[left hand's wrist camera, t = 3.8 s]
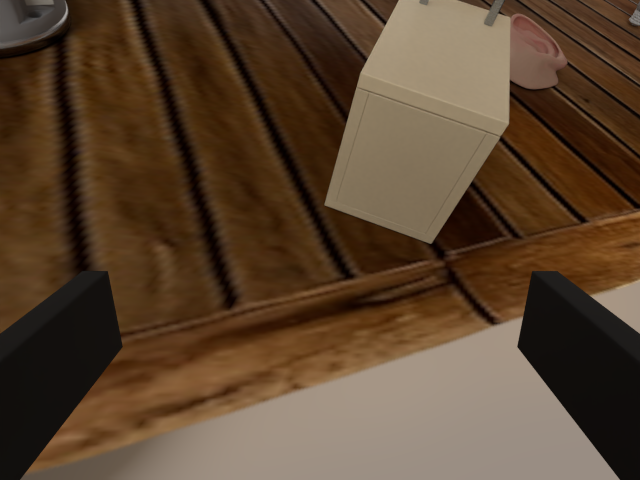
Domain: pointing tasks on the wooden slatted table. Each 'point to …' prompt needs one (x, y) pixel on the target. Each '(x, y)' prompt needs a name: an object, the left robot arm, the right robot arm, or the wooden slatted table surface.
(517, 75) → the anatomical model
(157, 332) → the wooden slatted table surface
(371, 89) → the lid
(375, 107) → the chest
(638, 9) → the light bulb
